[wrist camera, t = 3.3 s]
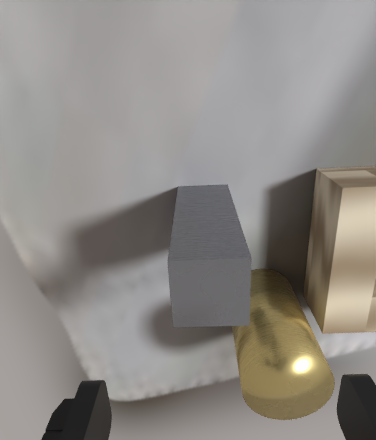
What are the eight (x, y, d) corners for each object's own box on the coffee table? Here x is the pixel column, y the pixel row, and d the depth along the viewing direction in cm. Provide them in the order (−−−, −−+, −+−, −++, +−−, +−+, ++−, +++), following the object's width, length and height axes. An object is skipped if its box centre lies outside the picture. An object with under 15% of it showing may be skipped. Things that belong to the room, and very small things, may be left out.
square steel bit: (178, 186, 27) (167, 261, 16) (227, 184, 27) (251, 258, 16) (180, 231, 29) (172, 327, 18) (227, 229, 28) (249, 325, 17)
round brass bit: (227, 270, 30) (242, 354, 21) (294, 267, 30) (340, 352, 21) (227, 323, 32) (241, 420, 23) (290, 321, 32) (328, 418, 23)
